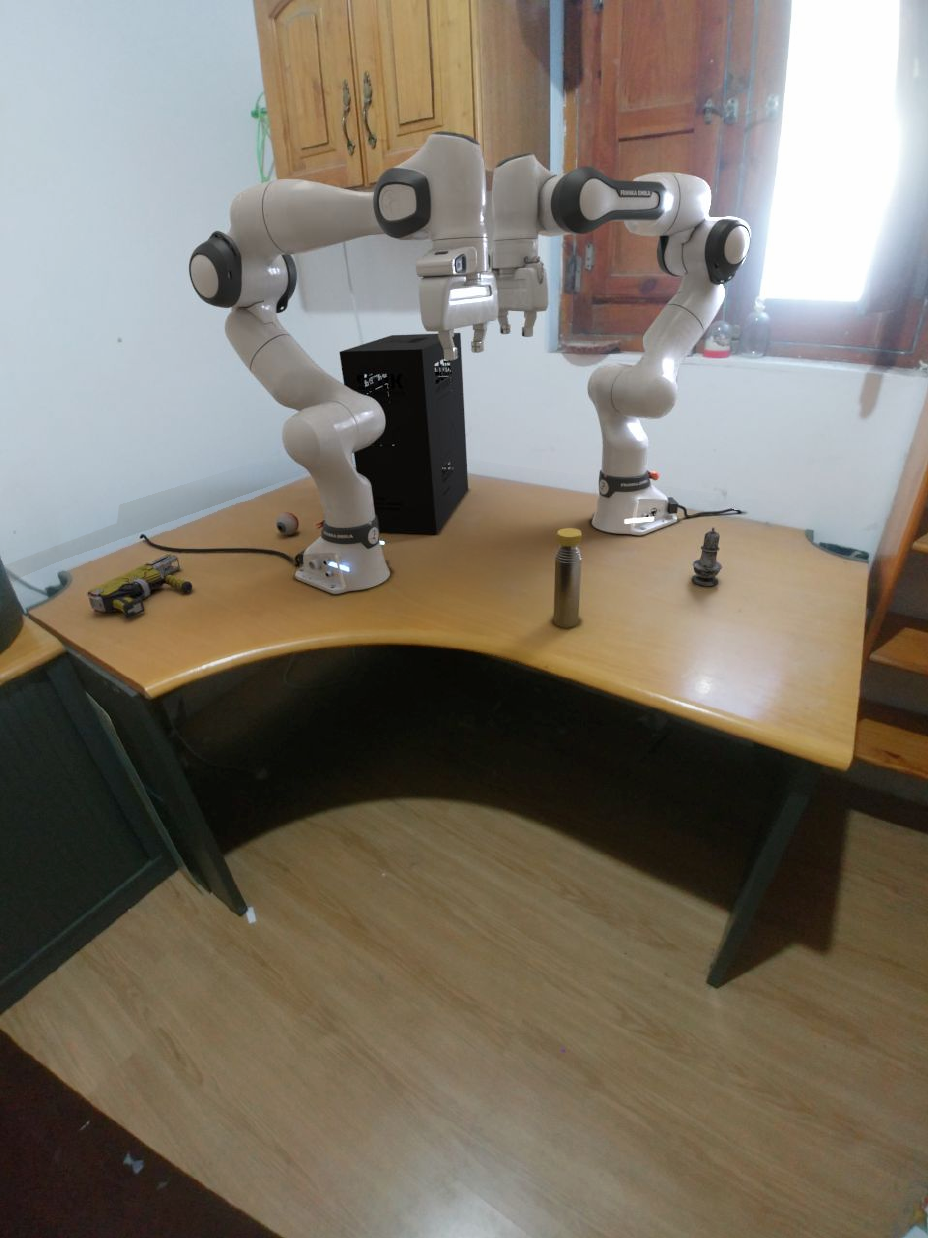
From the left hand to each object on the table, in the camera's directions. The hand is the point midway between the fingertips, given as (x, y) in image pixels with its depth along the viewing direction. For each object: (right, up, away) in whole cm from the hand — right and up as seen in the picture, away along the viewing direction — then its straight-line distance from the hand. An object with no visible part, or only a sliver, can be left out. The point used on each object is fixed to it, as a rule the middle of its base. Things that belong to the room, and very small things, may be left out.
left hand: (464, 355), depth 102 cm
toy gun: (-70, -39, +35) cm, 87 cm away
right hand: (+11, +14, +23) cm, 29 cm away
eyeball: (-48, -22, +63) cm, 82 cm away
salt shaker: (+51, -37, +27) cm, 69 cm away
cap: (+19, -29, +6) cm, 35 cm away
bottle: (+20, -45, +15) cm, 52 cm away
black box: (-13, -12, +75) cm, 77 cm away
